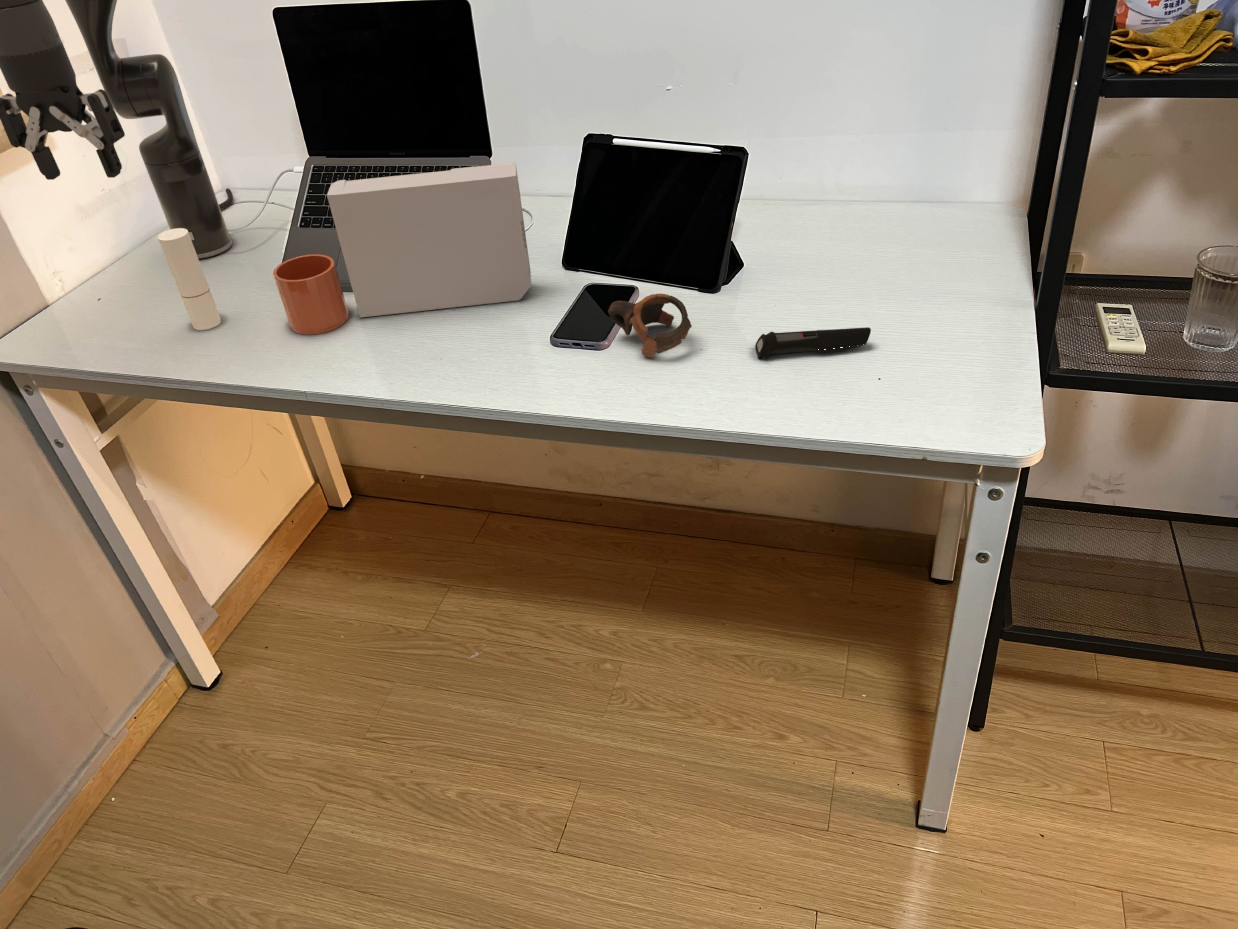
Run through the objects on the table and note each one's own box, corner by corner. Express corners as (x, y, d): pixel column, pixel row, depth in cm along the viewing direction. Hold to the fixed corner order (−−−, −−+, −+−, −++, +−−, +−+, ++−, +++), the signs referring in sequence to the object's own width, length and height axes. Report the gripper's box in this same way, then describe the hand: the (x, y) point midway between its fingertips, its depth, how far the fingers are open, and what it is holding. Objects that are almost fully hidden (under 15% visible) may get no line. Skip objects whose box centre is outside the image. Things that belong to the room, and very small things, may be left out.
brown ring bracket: (691, 325, 136) (700, 295, 128) (676, 380, 132) (684, 352, 125) (613, 304, 136) (617, 272, 129) (596, 357, 133) (599, 328, 125)
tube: (212, 330, 144) (177, 240, 135) (187, 329, 145) (151, 240, 136) (226, 317, 147) (193, 228, 138) (202, 316, 148) (168, 227, 139)
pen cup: (294, 310, 147) (277, 258, 142) (350, 303, 148) (336, 251, 143) (286, 338, 140) (269, 284, 135) (346, 330, 141) (331, 276, 136)
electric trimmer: (871, 354, 126) (874, 334, 124) (758, 361, 126) (759, 341, 124) (865, 340, 129) (867, 320, 127) (754, 347, 129) (755, 327, 127)
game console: (363, 301, 148) (331, 180, 136) (532, 282, 149) (515, 161, 137) (359, 318, 144) (326, 195, 132) (533, 299, 145) (516, 175, 133)
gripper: (98, 33, 112) (149, 164, 122) (-9, 38, 114) (50, 167, 124) (64, 50, 106) (120, 186, 116) (-49, 55, 108) (16, 189, 118)
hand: (84, 176), depth 120 cm, fingers open, 8 cm apart
